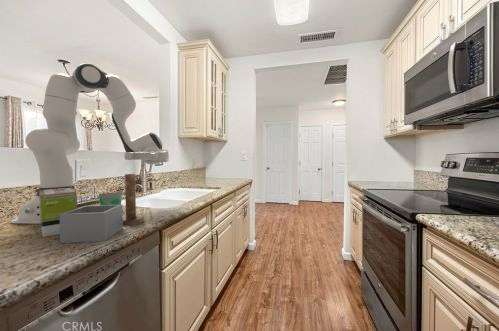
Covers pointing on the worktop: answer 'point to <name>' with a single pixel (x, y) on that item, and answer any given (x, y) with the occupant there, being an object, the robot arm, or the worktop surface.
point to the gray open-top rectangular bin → (90, 223)
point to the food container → (111, 198)
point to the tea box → (55, 208)
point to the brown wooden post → (131, 202)
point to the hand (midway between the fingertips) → (142, 155)
